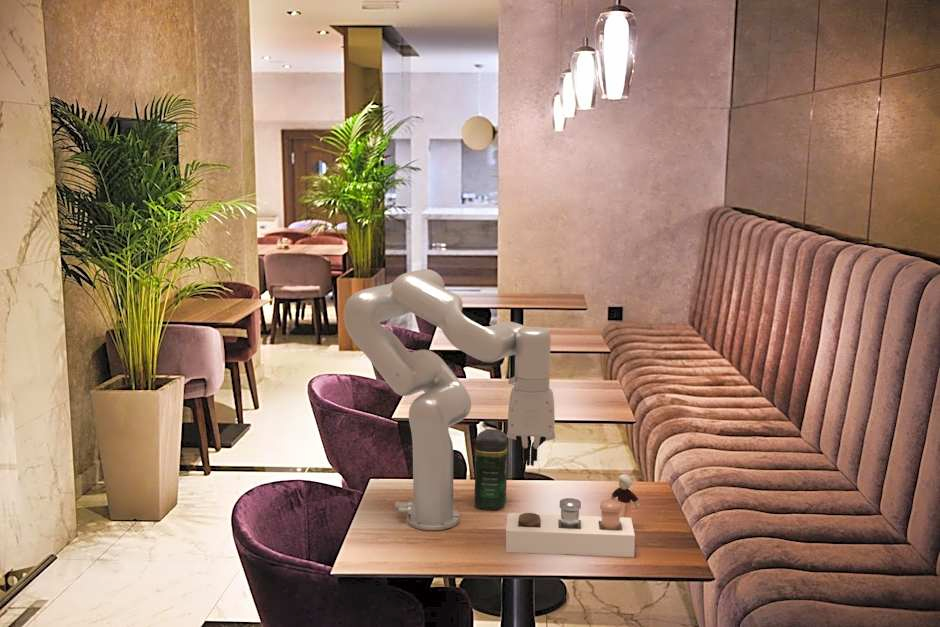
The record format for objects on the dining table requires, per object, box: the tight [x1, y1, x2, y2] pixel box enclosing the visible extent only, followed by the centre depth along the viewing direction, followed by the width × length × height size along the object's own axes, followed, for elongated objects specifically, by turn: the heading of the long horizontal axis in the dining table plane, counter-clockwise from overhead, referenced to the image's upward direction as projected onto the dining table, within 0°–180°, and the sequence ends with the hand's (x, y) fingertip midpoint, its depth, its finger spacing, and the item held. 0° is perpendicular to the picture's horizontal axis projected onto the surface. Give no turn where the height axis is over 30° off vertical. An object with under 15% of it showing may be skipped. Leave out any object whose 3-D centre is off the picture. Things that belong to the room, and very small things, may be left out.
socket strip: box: [505, 512, 636, 558], centre depth 216 cm, size 28×10×5 cm, turn 85°
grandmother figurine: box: [609, 473, 641, 518], centre depth 226 cm, size 8×4×13 cm, turn 62°
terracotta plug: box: [599, 499, 622, 530], centre depth 214 cm, size 5×5×6 cm
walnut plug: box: [519, 512, 540, 527], centre depth 216 cm, size 5×5×6 cm
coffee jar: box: [474, 428, 508, 511], centre depth 239 cm, size 10×8×19 cm
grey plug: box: [559, 497, 582, 529], centre depth 215 cm, size 5×5×6 cm
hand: (530, 463), depth 213 cm, fingers closed
